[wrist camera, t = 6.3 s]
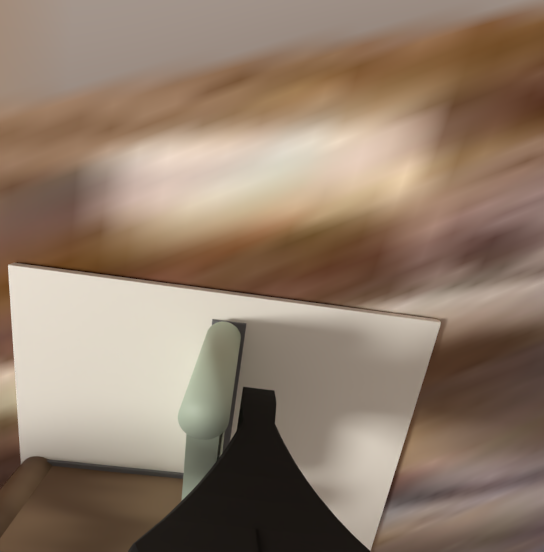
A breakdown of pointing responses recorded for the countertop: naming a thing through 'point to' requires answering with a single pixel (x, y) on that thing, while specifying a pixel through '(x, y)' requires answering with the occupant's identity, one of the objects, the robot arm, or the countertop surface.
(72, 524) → the walnut fence section
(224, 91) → the countertop surface
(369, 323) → the card
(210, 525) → the robot arm
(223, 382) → the sage fence panel
